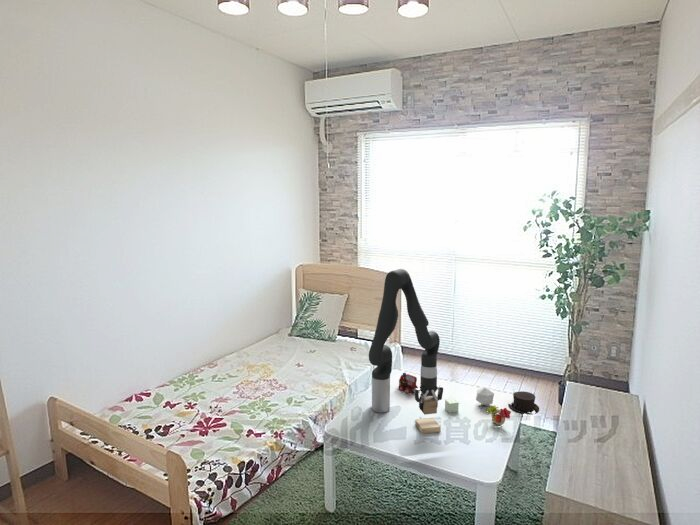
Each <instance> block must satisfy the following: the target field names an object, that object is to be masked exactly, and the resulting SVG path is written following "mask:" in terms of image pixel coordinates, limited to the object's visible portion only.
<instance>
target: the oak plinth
mask: <svg viewBox="0 0 700 525" xmlns="http://www.w3.org/2000/svg"><path fill="white" fill-rule="evenodd" d="M414 424H415V427H416V428H417V429H418V431H419V432H420V433H421V434H422V435H425V434H433V433H440V432H441V430H442V428H441V425H440V424H439V423H438V422H437V420H436V419H435V418H434V417H429V418H427V417H426V418H419V419H415V423H414Z"/></svg>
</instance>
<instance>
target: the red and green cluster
mask: <svg viewBox="0 0 700 525" xmlns="http://www.w3.org/2000/svg"><path fill="white" fill-rule="evenodd" d="M486 412H487V413H486V415H489V414H490V413H491V421H492V422H493V423H494V424H496V425H497V426H502V425H504V424H505V422H506V419H510V418H511V414H512V411H511V410H508V409H507V407H504V408H500V409H499V406H496V405H490V407H488V408H486Z"/></svg>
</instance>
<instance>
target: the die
mask: <svg viewBox="0 0 700 525" xmlns="http://www.w3.org/2000/svg"><path fill="white" fill-rule="evenodd" d="M494 397H495V393H494V392H493V391H491V390H490V389H489V388H487V387H483V388H479V389H477V392H476V397H475V401H477V402H478V403H479V404H481V405H483V406H484V405H486V406H489V405H492V404H493V401H494Z"/></svg>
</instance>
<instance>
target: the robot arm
mask: <svg viewBox="0 0 700 525" xmlns="http://www.w3.org/2000/svg"><path fill="white" fill-rule="evenodd" d="M383 285H384V286H383V294H382V301H381V306H380V309H379V313H378V318H377V323H376V327H375V330H374V331H375V332H374V335H373V339H372V342H371V345H370V347H369V351H368V361H369V363H370V364H371V365H372V366H374V367H375V366H376V367H375V368H374V369H373V370H372V371H371V410H372V411H373V412H375V413H380V414H381V413H388V412H389V411H390V408H391V403H390V402H391V374H392V368H393V351H392V349H391V347H390V346H389V345H387V344H386V342H387V340H388V339H389V338H390V336H392V333H393V332H394V330H395V329H396V327H397V323H398V320H399V319H398V318H399V310H398V306H397V298H398V293H399V290H401V291H402V292H403V294H404V297H405V301H406V310H407V315H408V317H409V320H410V321H411V324H412V326H413V327H414V331H415V335H416V338H417V342H418V344H419V346H420V347H421V348H422V349H424V351H423V352H422V353H421V358H420V359H421V360H420V361H421V362H420V383H419V385H420V386H419V387H418V389H416V388H414V392H413V393H414V394H413V395H414V400H415V401H416V402H417V403H418V407H419V410H420V409H421V410H420V411H421V412H422V411H423V400H424V399H425V398H426V397H427V396H433V398H434V399H436V400H437V408H438V405H439V404H438V403H439V401H441V400H443V392H444V388H443V387H442V385H439V386H438V368H437V367H438V366H437V363H438V362H437V360H438V359H437V356H438V352H439V348H440V341H441V340H440V336H439V334H438V333H437V331H434V330H428V326H429V322H430V321H429V320H428V318H427V316H426V313H424V310H423V309H422V305H421V304H420V301H419V298H418V296H417V292H416V290H415V287H414V284H413V281H412V277H411V276H410V273H409V272H408V271H407V270H406V269H404V268H399V269H395V270H390V271H389V272H388V273H387V274H386V276H385V278H384V284H383ZM437 391H438V392H437ZM436 392H437V394H436ZM419 394H420V396H419Z"/></svg>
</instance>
